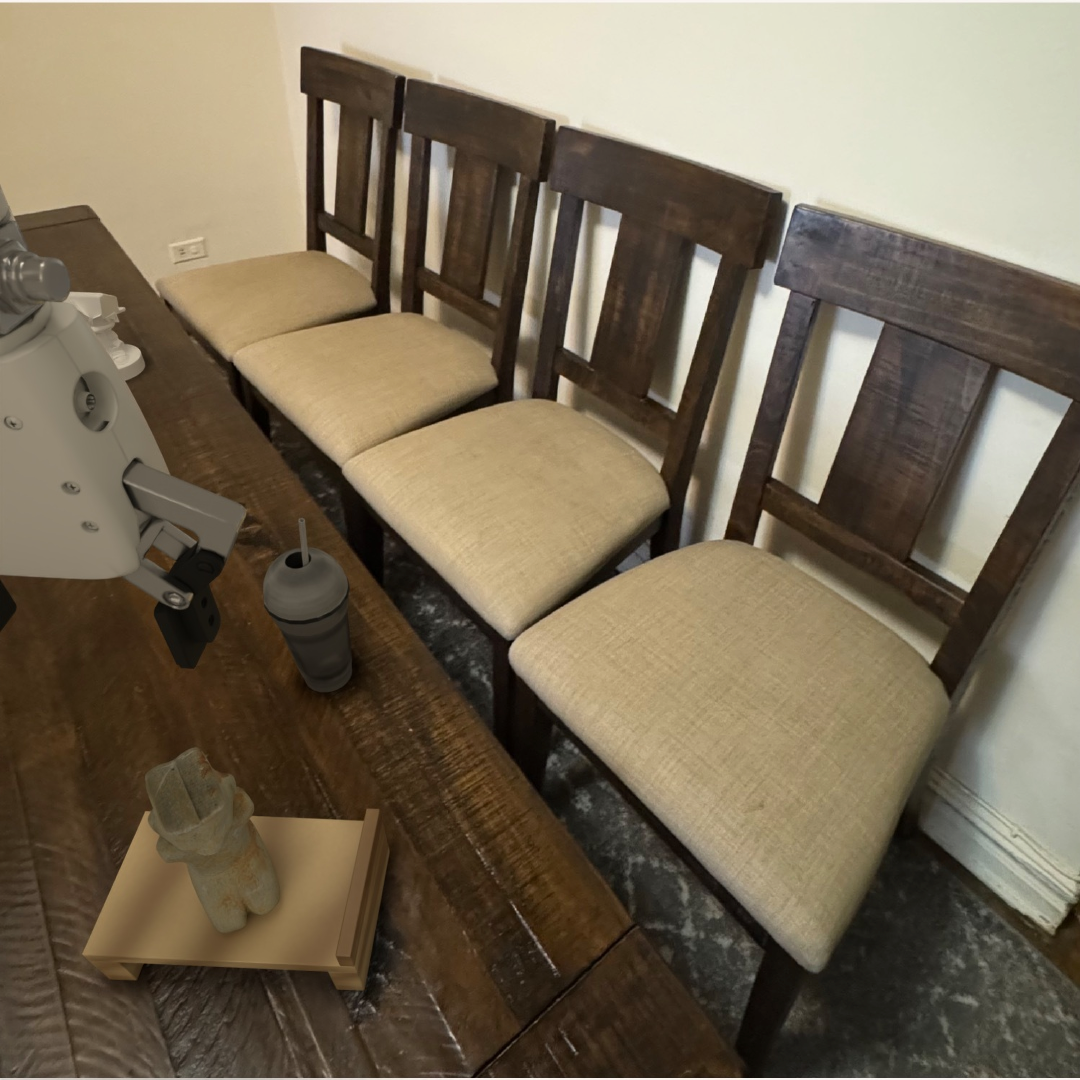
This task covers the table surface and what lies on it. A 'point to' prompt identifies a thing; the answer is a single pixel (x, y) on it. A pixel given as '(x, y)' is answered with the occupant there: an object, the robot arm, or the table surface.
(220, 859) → the sculpture
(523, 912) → the table surface
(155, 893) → the shelf
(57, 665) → the table surface
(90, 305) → the character figurine
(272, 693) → the table surface
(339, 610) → the beverage cup
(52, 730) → the table surface
